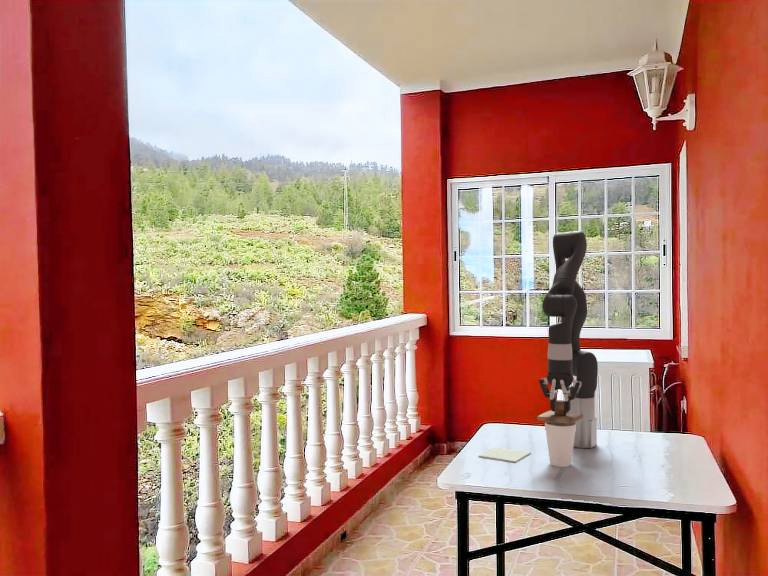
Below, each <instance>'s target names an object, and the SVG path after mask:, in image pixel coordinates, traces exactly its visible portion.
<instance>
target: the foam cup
mask: <svg viewBox="0 0 768 576" xmlns="http://www.w3.org/2000/svg"><path fill="white" fill-rule="evenodd" d="M544 431H545V434H546V436H545V437H546V441H547V442H546V443H547V449H548V450H547V451H548V457H549V464H550V465H551V466H554V467H558V468H559V467H560V468H561V467H563V468H565V467H570V466H571V465H572V461H573V460H572V459H573V453H574V452H573V451H574V447H573V445H574V438H575V432H576V423H573V424H566V423H558V422H549V421H544Z"/></svg>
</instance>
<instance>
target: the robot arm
mask: <svg viewBox="0 0 768 576" xmlns="http://www.w3.org/2000/svg"><path fill="white" fill-rule="evenodd" d="M587 247H588V242H587V238H586V234H585V233H584V232H583V231H581V230H573V231H565V232H563V231H562V232H556V233H555V234H553V237H552V249H553V256H554V262H555V269H556V271H555V274H554V276H553V280H552V284H551V287H550V289H549V290H548V291H547V292H546V294H545V296H544V298H543V301H542V305H541V306H542V307H541V309H542V311H543V314H544V315H545V316H547V317H550V318H555V317H556V318H561V319H560V320H561V322H559V323H556V324H551V325H549V326H548V346H547V347H548V348H547V375H546V377H544V378H543V377H542V378H539V380H538V383H539V386H540V388H541V392H542V393H543V397H544V398H547V399H549V400H550V403H549V404H550V406H549V407H550V410H551V411H553V412H554V401H556V400H557V399H558V398H557V392H559V391H558V390H561V391H562V395H563V399H564V400H563V401H564V412H565V413H568V412H569V413H579V414H583V418H582V419H580V420H578V421H576V422H575V423H576V432H575V438H574V445H573V448H579V449H588V448H589V449H593V448H594V447H596V446H597V444H598V441H597V440H598V438H597V435H598V434H597V431H598V430H597V425H598V423H597V422H598V421H597V419H598V418H597V417H596V415H595V414H596V407H595V406H596V404H595V402H596V401H595V400H596V399H595V394H596V391H597V387H598V372H599V368H598V367H599V365H598V359H597V357H596V355H595V354H594V353H593V352H590V351H584V350H581V343H580V342H581V341H580V336H581V332H582V330H583V327H584V325H585V323H586V320H587V316H588V303H587V294H586V292H585V290H584V288H582V286H581V285H580V284H579V282H578V281H577V277H578V274H579V271H580V268H581V266H582V263H583V261H584V259H585V256H586V254H587ZM566 259H567V260H566ZM575 378H576V379H575ZM548 383H549V384H550V389H549V386H548ZM572 384H573V385H572Z"/></svg>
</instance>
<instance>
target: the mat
mask: <svg viewBox="0 0 768 576" xmlns="http://www.w3.org/2000/svg"><path fill="white" fill-rule="evenodd" d="M530 455H531V452H530V451H523V450H517V449H511V448H510V449H509V448H505V447H504V448H503V447H497V446H494V447H493V448H490V449H489V450H487V451H485V452H482V453H481V454H479V455H478V458H482V459H483V458H484V459H490V460H493V461H494V460H497V461H501V462H506V463H507V462H508V463H514V464H516V463H517V462H518V463H519V462H520V461H521V460H522V459H525V458H526V457H528V456H530Z"/></svg>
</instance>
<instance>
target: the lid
mask: <svg viewBox="0 0 768 576" xmlns="http://www.w3.org/2000/svg"><path fill="white" fill-rule="evenodd" d="M564 401H565V400H560V399H559V400H556V401H554V412H553V411H552V410H551V409H550V410H547V411H545V412H543V413H541V414H539V415H537V416H536V418H537V419H536V420H537V421H543V422H546V421H549V422H558V423H566V424H573V423H575V422H576V421H578V420H580V419H582V418H583V414H579V413H569V412H568V413H565V412H564Z"/></svg>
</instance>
